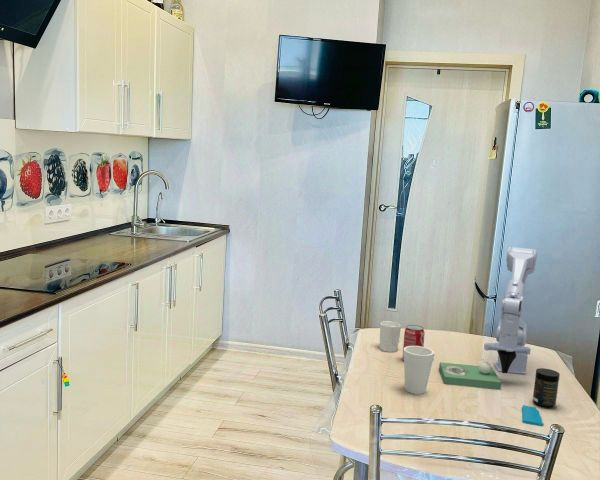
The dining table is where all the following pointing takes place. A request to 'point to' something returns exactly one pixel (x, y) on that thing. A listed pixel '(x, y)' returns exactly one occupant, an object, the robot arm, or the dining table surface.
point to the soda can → (413, 336)
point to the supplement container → (545, 388)
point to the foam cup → (417, 368)
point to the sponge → (531, 416)
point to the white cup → (389, 336)
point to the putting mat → (468, 376)
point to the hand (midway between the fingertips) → (504, 372)
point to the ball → (485, 367)
